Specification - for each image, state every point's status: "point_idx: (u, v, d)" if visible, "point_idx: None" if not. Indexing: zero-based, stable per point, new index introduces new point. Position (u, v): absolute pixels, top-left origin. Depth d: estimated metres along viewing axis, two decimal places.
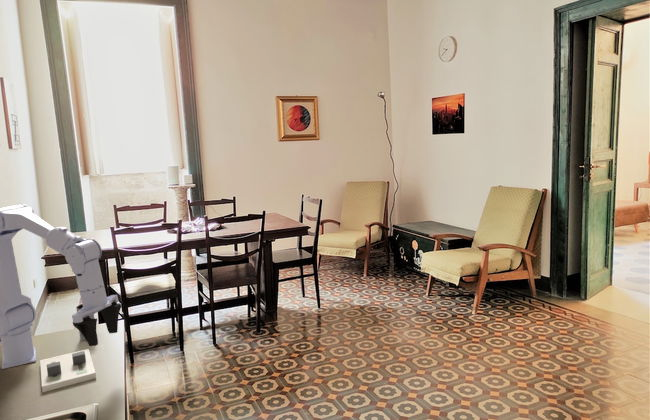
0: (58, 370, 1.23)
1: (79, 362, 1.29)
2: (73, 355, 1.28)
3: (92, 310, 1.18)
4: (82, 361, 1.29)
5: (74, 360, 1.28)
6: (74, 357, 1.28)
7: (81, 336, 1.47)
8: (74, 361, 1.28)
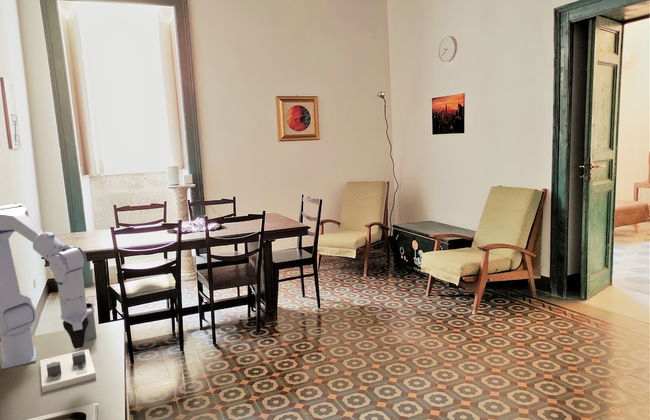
0: (58, 370, 1.23)
1: (79, 362, 1.29)
2: (73, 355, 1.28)
3: (84, 317, 1.20)
4: (82, 361, 1.29)
5: (74, 360, 1.28)
6: (74, 357, 1.28)
7: None
8: (74, 361, 1.28)
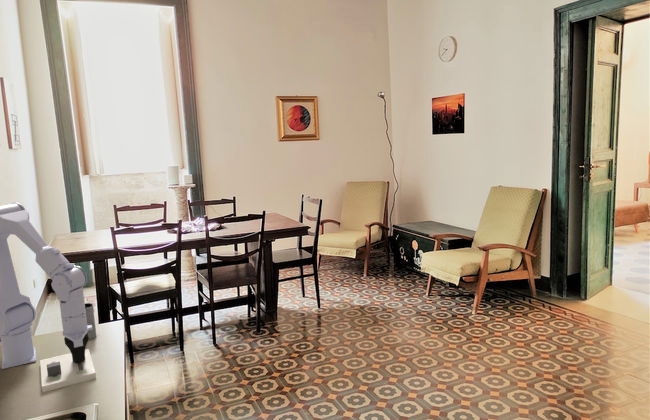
0: (58, 370, 1.23)
1: None
2: None
3: (85, 333, 1.25)
4: None
5: None
6: None
7: None
8: None
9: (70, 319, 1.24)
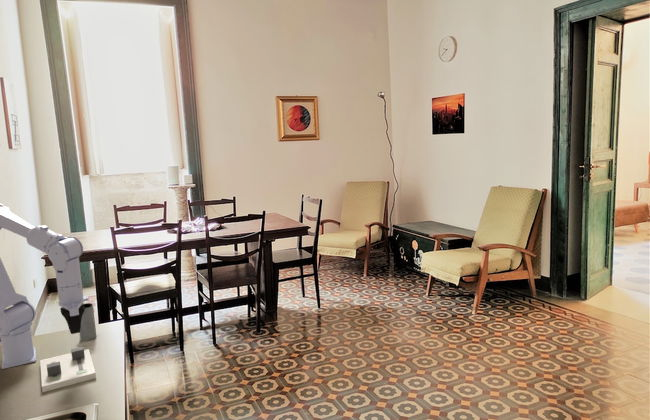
0: (58, 370, 1.23)
1: (78, 357, 1.31)
2: (72, 351, 1.31)
3: (81, 303, 1.26)
4: (81, 356, 1.32)
5: (73, 355, 1.30)
6: (73, 352, 1.30)
7: (81, 336, 1.47)
8: (73, 356, 1.31)
9: (66, 289, 1.24)
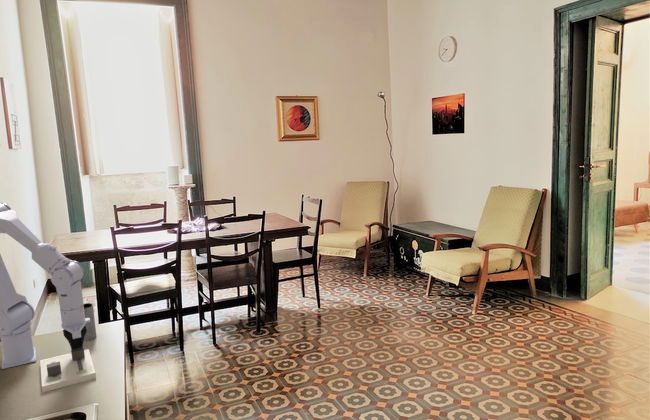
0: (58, 370, 1.23)
1: (78, 358, 1.31)
2: (72, 351, 1.31)
3: (83, 326, 1.30)
4: (81, 357, 1.31)
5: (73, 356, 1.30)
6: (73, 353, 1.30)
7: None
8: (73, 357, 1.30)
9: (69, 312, 1.29)
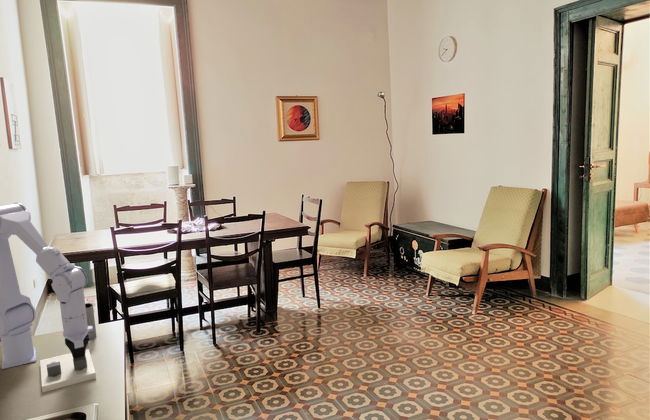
0: (58, 370, 1.23)
1: (80, 367, 1.26)
2: (74, 360, 1.26)
3: (85, 334, 1.25)
4: (83, 366, 1.26)
5: (75, 365, 1.25)
6: (75, 362, 1.25)
7: None
8: (75, 366, 1.25)
9: (70, 320, 1.23)
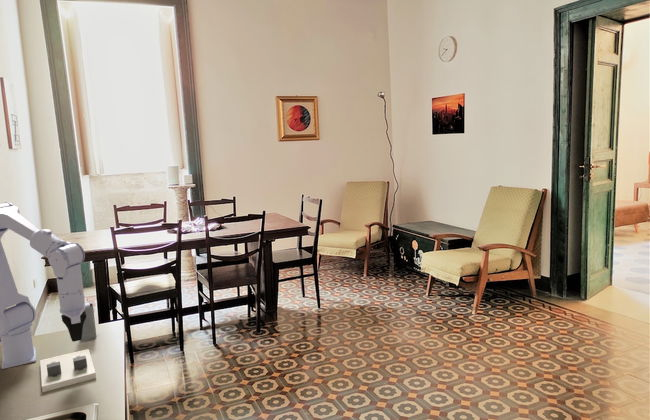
0: (58, 370, 1.23)
1: (80, 367, 1.26)
2: (74, 360, 1.26)
3: (82, 311, 1.23)
4: (83, 366, 1.26)
5: (75, 365, 1.25)
6: (75, 362, 1.25)
7: None
8: (75, 366, 1.25)
9: (67, 296, 1.22)
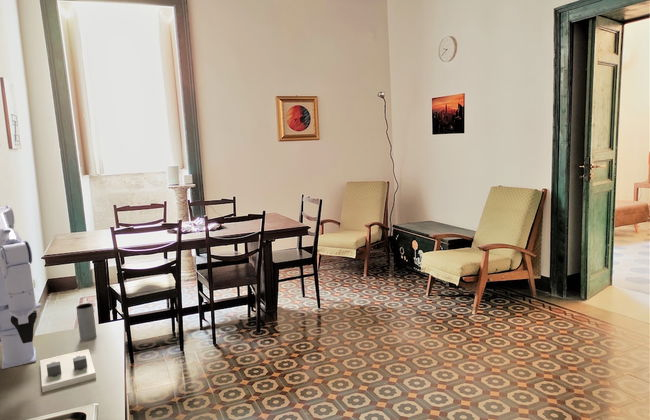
0: (58, 370, 1.23)
1: (80, 367, 1.26)
2: (74, 360, 1.26)
3: (31, 311, 1.19)
4: (83, 366, 1.26)
5: (75, 365, 1.25)
6: (75, 362, 1.25)
7: (81, 336, 1.47)
8: (75, 366, 1.25)
9: (15, 295, 1.18)
